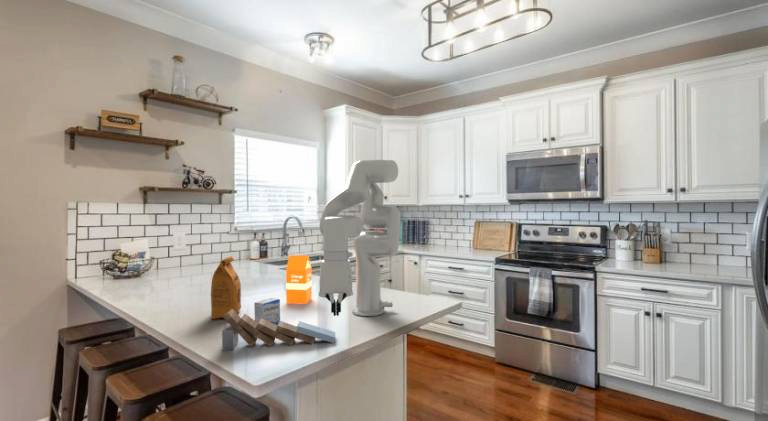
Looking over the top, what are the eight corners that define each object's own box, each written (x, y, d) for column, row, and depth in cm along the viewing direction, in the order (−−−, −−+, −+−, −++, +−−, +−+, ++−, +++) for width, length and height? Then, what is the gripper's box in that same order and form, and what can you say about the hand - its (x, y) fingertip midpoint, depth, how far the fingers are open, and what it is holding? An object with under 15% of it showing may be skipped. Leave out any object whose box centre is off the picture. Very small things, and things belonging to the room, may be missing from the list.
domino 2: (276, 336, 121) (244, 313, 119) (274, 341, 116) (241, 318, 114) (272, 340, 121) (241, 318, 119) (270, 346, 116) (237, 323, 114)
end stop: (238, 341, 120) (238, 322, 120) (233, 350, 113) (232, 329, 113) (228, 342, 120) (228, 322, 120) (222, 350, 113) (222, 330, 113)
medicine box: (263, 329, 132) (262, 303, 132) (254, 326, 134) (254, 302, 134) (280, 322, 139) (280, 298, 139) (271, 320, 141) (271, 297, 141)
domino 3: (295, 334, 122) (261, 317, 120) (294, 340, 117) (258, 322, 115) (292, 339, 122) (258, 323, 120) (291, 345, 117) (255, 328, 115)
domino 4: (315, 333, 123) (279, 320, 121) (315, 338, 118) (277, 325, 116) (313, 338, 123) (277, 325, 121) (313, 344, 118) (275, 331, 116)
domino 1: (258, 336, 120) (232, 308, 119) (255, 342, 115) (228, 313, 114) (253, 340, 120) (227, 312, 119) (250, 346, 115) (223, 317, 114)
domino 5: (333, 343, 119) (295, 331, 117) (333, 337, 124) (297, 326, 122) (335, 337, 119) (297, 326, 117) (335, 332, 124) (299, 321, 122)
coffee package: (245, 310, 154) (244, 255, 154) (234, 320, 142) (233, 260, 141) (220, 310, 154) (219, 255, 153) (206, 320, 141) (206, 260, 141)
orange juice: (292, 298, 173) (292, 254, 173) (311, 299, 172) (311, 254, 171) (286, 303, 165) (285, 256, 165) (305, 303, 164) (305, 257, 164)
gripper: (358, 254, 126) (358, 310, 126) (311, 255, 123) (312, 312, 124) (360, 257, 118) (360, 317, 119) (311, 258, 116) (311, 319, 116)
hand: (336, 314), depth 121 cm, fingers closed
